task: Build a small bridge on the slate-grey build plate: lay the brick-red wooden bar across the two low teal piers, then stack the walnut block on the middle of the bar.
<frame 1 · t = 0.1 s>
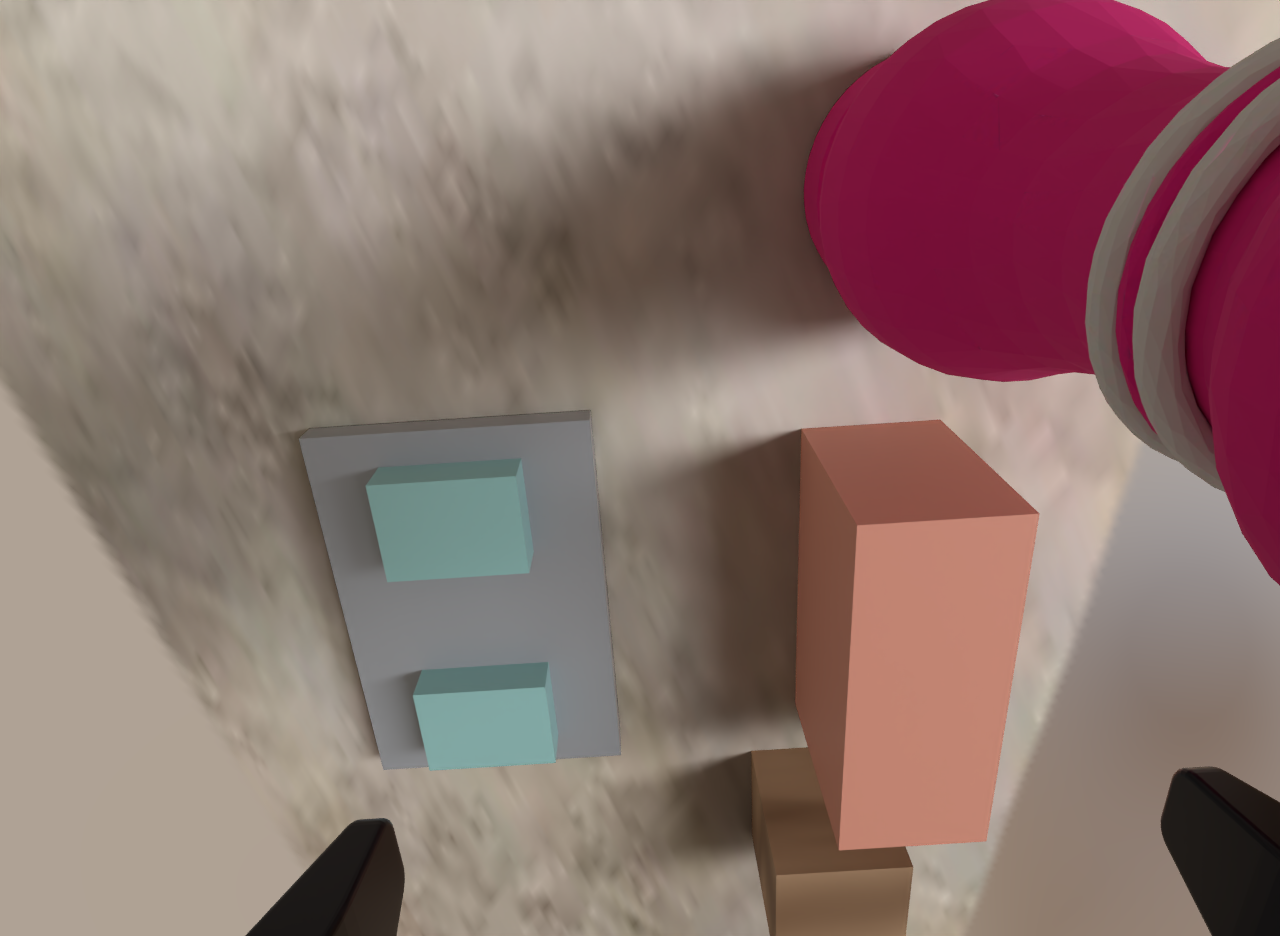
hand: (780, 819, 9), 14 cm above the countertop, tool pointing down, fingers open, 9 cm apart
build plate: (480, 598, 25), on the countertop
block: (806, 789, 28), on the countertop
pepper mill: (922, 182, 20), on the countertop
bar: (860, 571, 25), on the countertop
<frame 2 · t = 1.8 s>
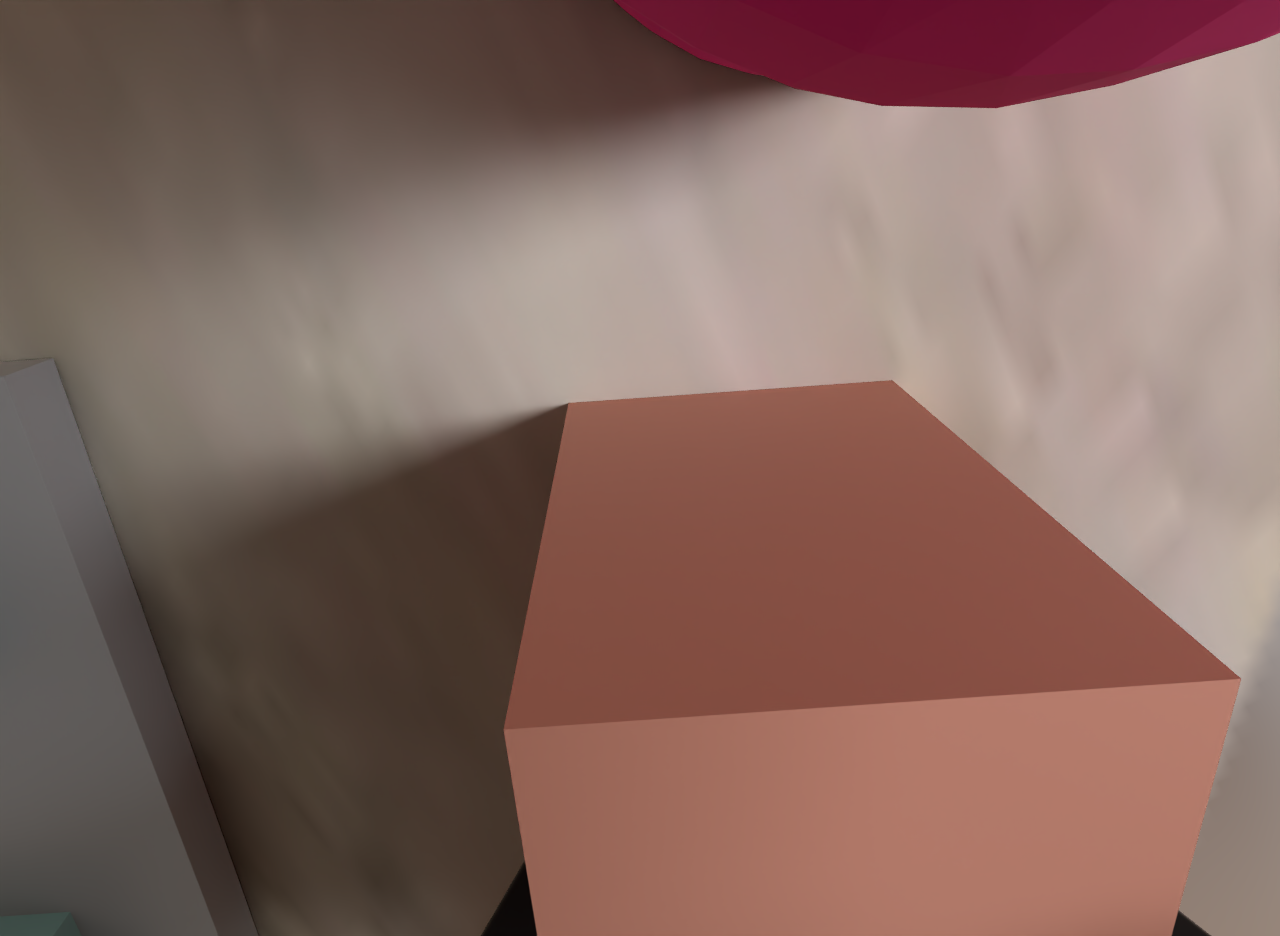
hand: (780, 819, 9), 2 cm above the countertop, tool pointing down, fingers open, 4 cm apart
bar: (736, 712, 12), on the countertop, touching gripper
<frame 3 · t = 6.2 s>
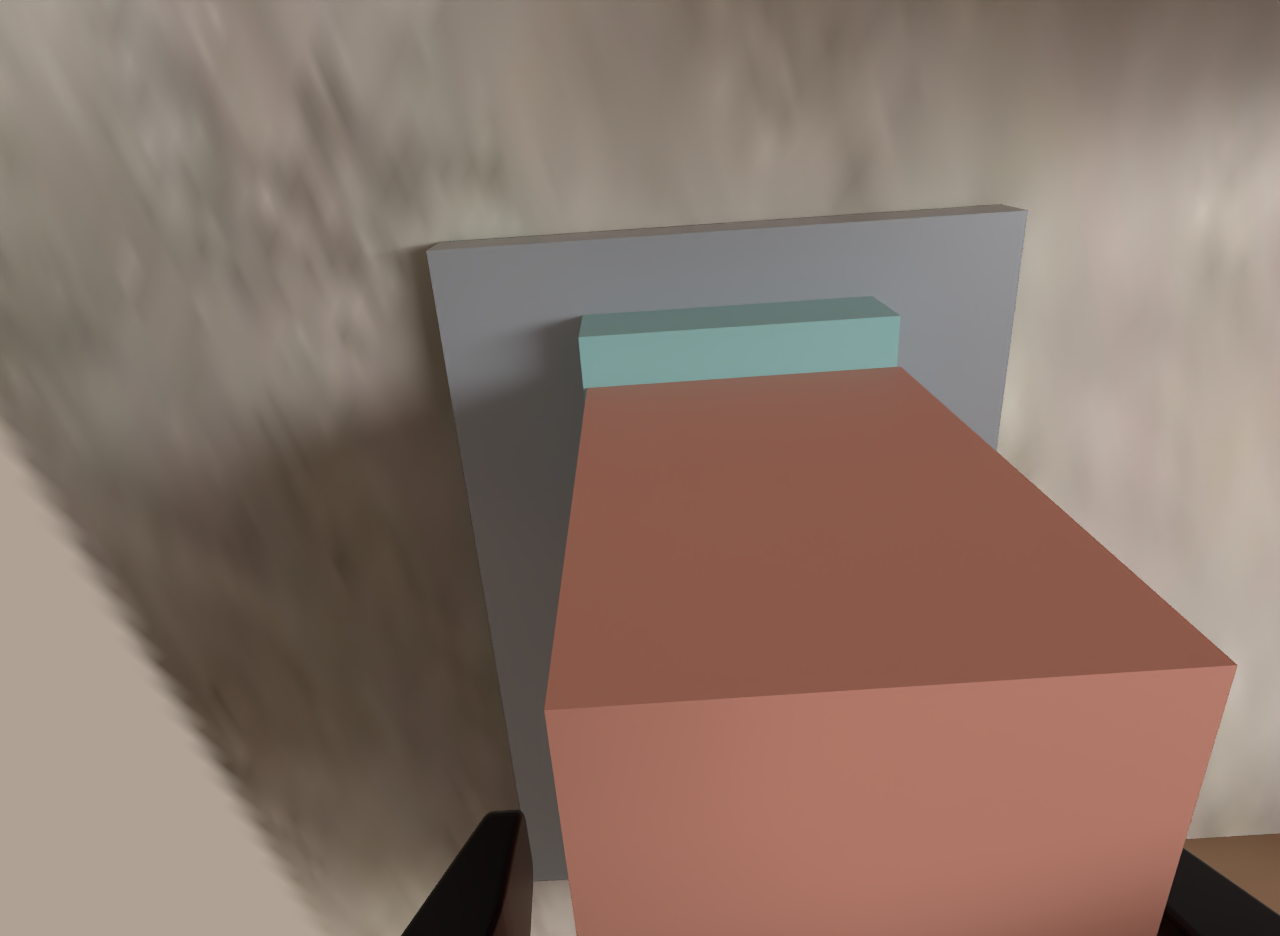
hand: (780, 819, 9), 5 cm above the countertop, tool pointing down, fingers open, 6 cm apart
build plate: (726, 583, 14), on the countertop
block: (1211, 900, 17), on the countertop
bar: (747, 690, 12), point 2 cm above the countertop, touching build plate
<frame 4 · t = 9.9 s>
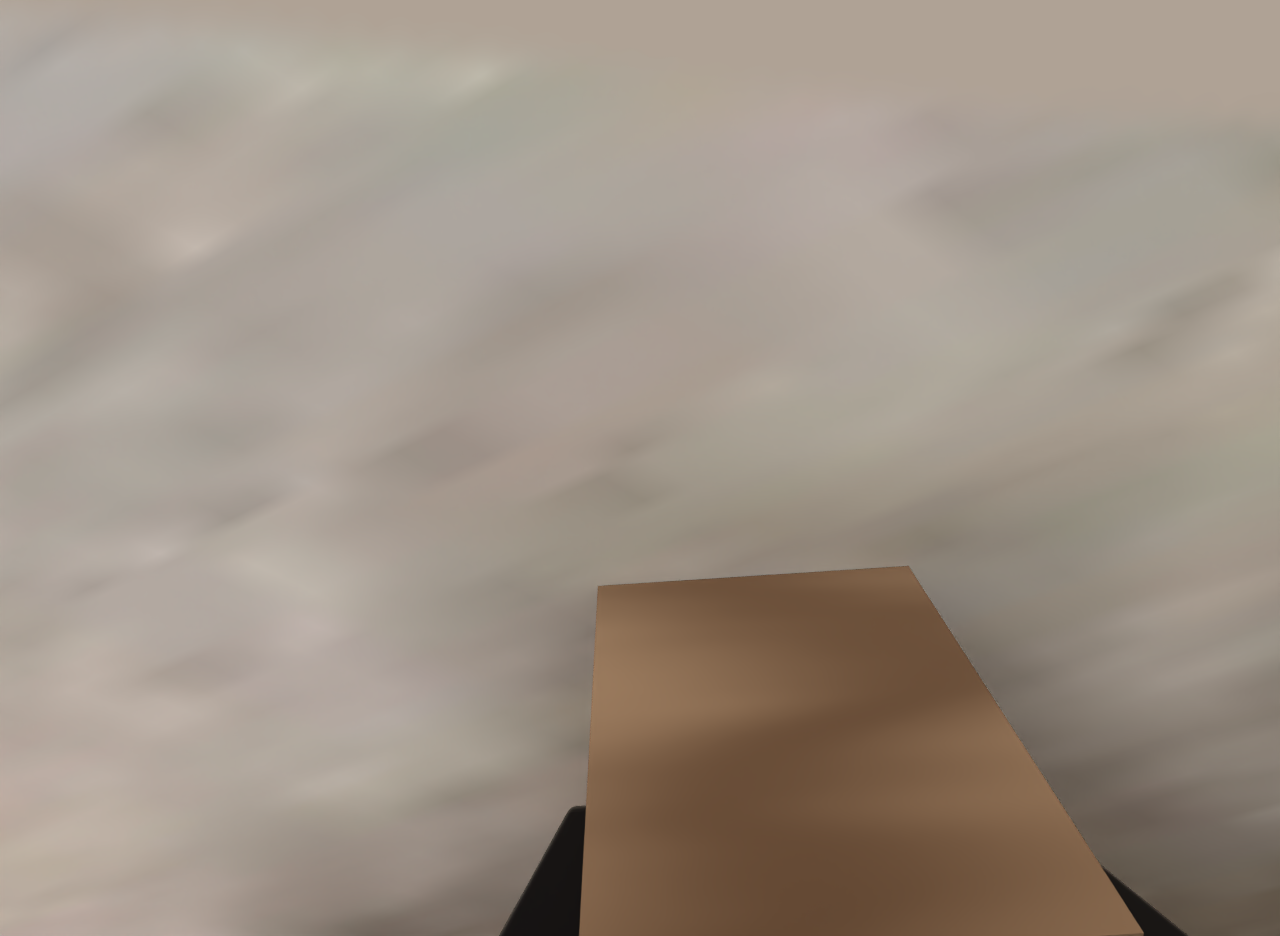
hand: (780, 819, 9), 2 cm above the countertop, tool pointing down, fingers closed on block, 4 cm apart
block: (753, 699, 11), on the countertop, touching gripper
when the fingers open (11 cm above the countertop, at t = 12.9 s): block stays where it is, resting on bar.
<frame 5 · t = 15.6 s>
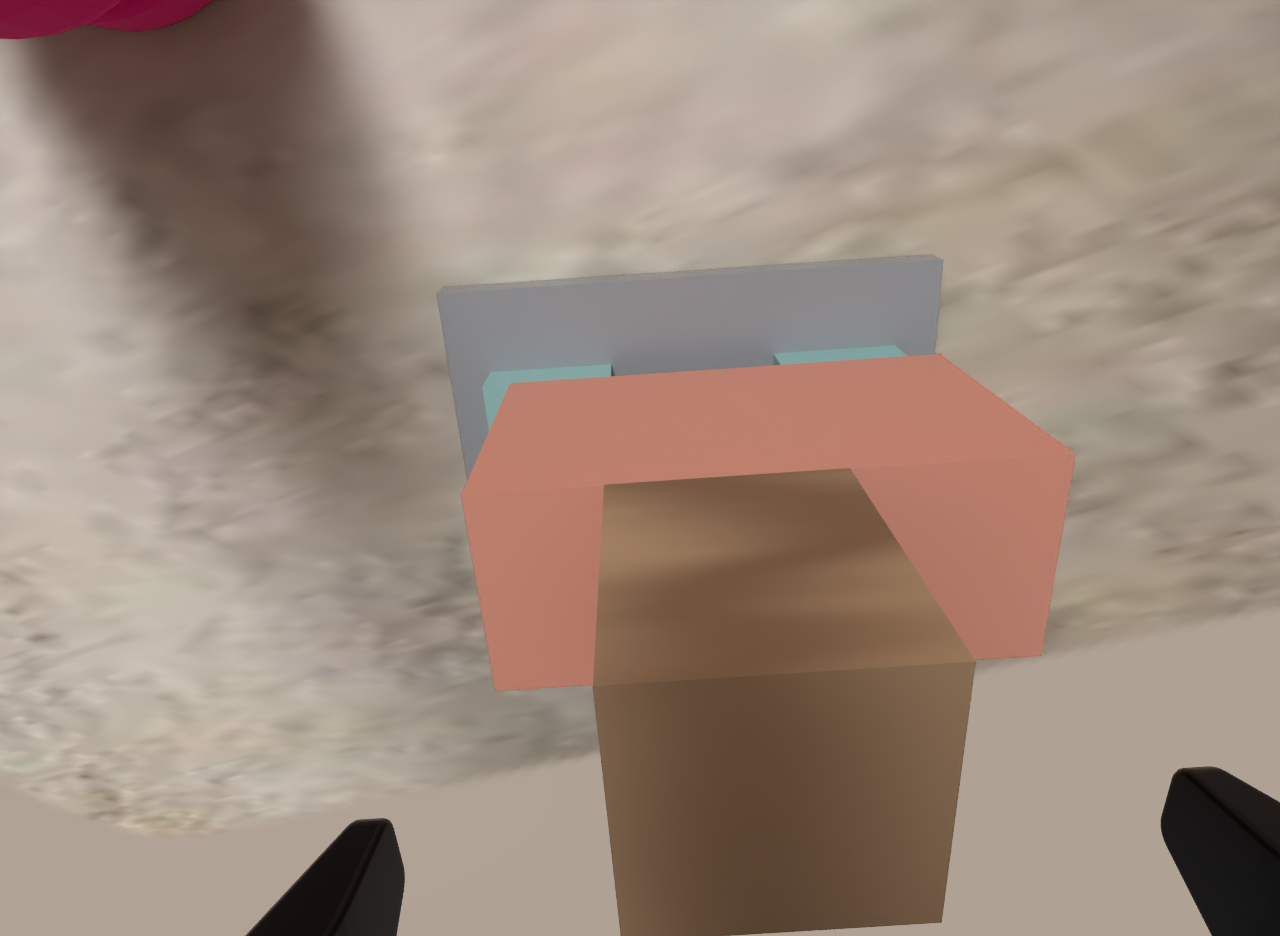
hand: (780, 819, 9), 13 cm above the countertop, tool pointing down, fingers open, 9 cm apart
build plate: (692, 423, 21), on the countertop
block: (729, 581, 14), point 8 cm above the countertop, touching bar
bar: (726, 448, 19), point 2 cm above the countertop, touching block, build plate
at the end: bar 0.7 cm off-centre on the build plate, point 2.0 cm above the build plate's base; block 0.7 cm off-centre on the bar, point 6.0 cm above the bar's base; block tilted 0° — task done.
